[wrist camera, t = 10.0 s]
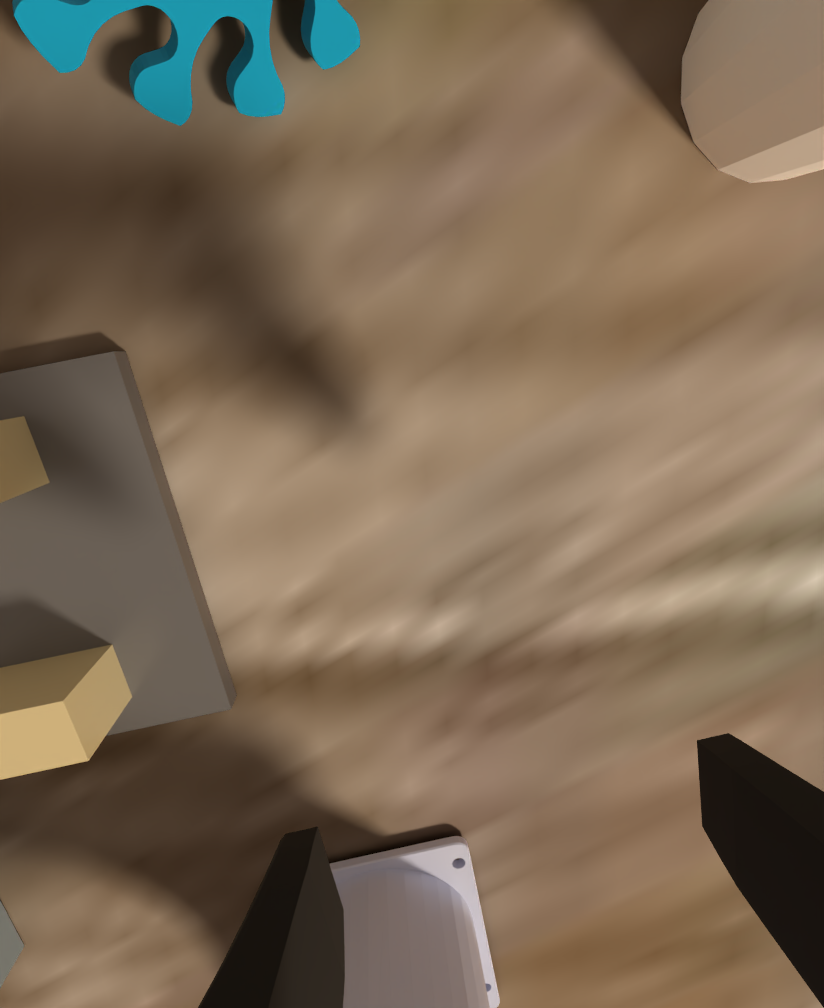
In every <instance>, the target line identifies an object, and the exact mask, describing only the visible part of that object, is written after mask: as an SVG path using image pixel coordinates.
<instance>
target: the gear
mask: <svg viewBox="0 0 824 1008" xmlns="http://www.w3.org/2000/svg"><path fill="white" fill-rule="evenodd" d="M272 3H273V0H13V2H12V4H13V12H14V17H15V18H16V20H17V22H18V24H19V26H20V28H21V30H22V31H23V32H24V34H25V35H26V37H27V38H28V39H29V41H30V42H31V43H32V45H33V46H34V47H35V48H36V49H37V50H38V51H39V52H40V54H41V55H42V56H43V57H44V58H45V59H46V60H47V61H48V62H49V63H50V64H51V65H52V66H53V67H54V68H55V69H56V70H57V71H58V72H59V73H67V72H71V71H74V70H76V69H77V68H78V67H80V66H81V64H82V63H83V61H84V60H85V57H86V53H87V49H88V46H89V44H90V42H91V40H92V38H93V36H94V34H95V33H96V32H97V30H98V29H99V28H100V27H101V26H102V24H103V23H105V22H106V21H107V20H109V19H110V18H111V17H113V16H115V15H117V14H119V13H122V12H124V11H126V10H130V9H133V8H136V7H140V6H144V5H150V6H155V7H157V8H159V9H161V10H162V11H163V12H165V13H166V14H167V15H168V16H169V17H170V20H171V25H172V32H171V36H170V39H169V41H168V43H167V44H166V45H165V46H163V47H161V48H159V49H156V50H153V51H150V52H147V53H144V54H142V55H140V56H138V57H137V58H136V59H135V60H134V62H133V63H132V65H131V68H130V71H129V81H130V86H131V89H132V92H133V95H134V98H135V100H136V101H138V102H139V103H140V104H141V105H142V106H143V107H144V108H145V109H147V110H148V111H150V112H151V113H153V114H155V115H157V116H159V117H161V118H162V119H164V120H167V121H169V122H172V123H174V124H177V125H179V126H181V125H182V124H184V123H185V122H186V121H187V119H188V118H189V117H190V114H191V111H192V95H191V71H192V65H193V61H194V58H195V55H196V52H197V49H198V48H199V46H200V44H201V42H202V40H203V39H204V37H205V36H206V34H207V33H208V31H209V30H210V28H211V27H212V26H213V24H214V23H215V22H216V21H217V20H218V19H220V18H222V17H226V16H231V17H235V18H237V19H239V20H240V21H242V22H243V25H244V28H245V41H244V45H243V47H242V49H241V51H240V52H239V53H238V55H237V56H236V57H235V59H234V60H233V62H232V63H231V65H230V67H229V69H228V72H227V78H226V83H227V89H228V92H229V95H230V97H231V99H232V101H233V102H234V104H235V106H236V108H237V110H238V111H239V113H241V114H244V115H247V116H255V117H264V116H273V115H279V114H281V113H282V111H283V108H284V103H285V93H284V89H283V86H282V84H281V82H280V80H279V78H278V76H277V73H276V70H275V67H274V64H273V61H272V56H271V51H270V41H269V27H270V16H271V9H272ZM301 36H302V40H303V43H304V46H305V48H306V49H307V51H308V52H309V54H310V55H311V56H312V57H313V59H314V60H315V61H316V62H317V64H318V65H319V66H320V67H321V68H322V69H323V70H324V69H328V68H332V67H334V66H336V65H338V64H339V63H341V62H342V61H344V60H345V59H346V58H348V57H349V56H350V55H351V54H352V53H353V52H354V51H355V50H356V49H358V48H359V47H360V34H359V29H358V27H357V24H356V22H355V21H354V19H353V18H352V16H351V15H350V14H349V13H348V12H347V11H346V10H345V9H344V8H343V7H342V6H341V5H340V4H339V3H338V1H337V0H305V4H304V10H303V15H302V21H301Z"/></svg>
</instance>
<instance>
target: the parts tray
mask: <svg viewBox="0 0 824 1008" xmlns="http://www.w3.org/2000/svg"><path fill="white" fill-rule="evenodd" d="M23 948H24V944H23V942H22V941H21V939H20V937H19V935H18V933H17V931H16V929H15V927H14V925H13V923H12V922H11V920H10V918H9V916H8V914H7V912H6V910H5V908H4V906H3V905H2V903H1V901H0V988H1V986H2V984H3V982H4V981H5V979H6V977H7V975H8V974H9V972H10V970H11V968H12V967H13V965H14V963H15V962H16V960H17V958H18V956H19V955H20V953H21V951H22V949H23Z"/></svg>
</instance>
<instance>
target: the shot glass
mask: <svg viewBox="0 0 824 1008" xmlns="http://www.w3.org/2000/svg"><path fill="white" fill-rule="evenodd" d="M681 105H682V108H683V112H684V115H685V118H686V121H687V124H688V127H689V130H690V133H691V136H692V139H693V142H694V143H695V145H696V146H697V147H698V148H699V149H700V150H701V151H702V153H703V154H704V155H705V156H706V157H707V158H708V159H709V161H710V162H711V163H712V164H713V165H714V166H715V167H716V169H717V170H719V171H721V172H724V173H726V174H729V175H731V176H734V177H736V178H739V179H741V180H744V181H746V182H749V183H755V182H766V181H777V180H786V179H790V178H793V177H797V176H801V175H804V174H808V173H811V172H815V171H819V170H822V169H824V0H708V2H707V3H706V4H705V5H704V7H703V8H702V9H701V11H700V12H699V13H698V16H697V18H696V21H695V24H694V27H693V29H692V32H691V35H690V38H689V40H688V43H687V46H686V49H685V51H684V54H683V57H682V80H681Z"/></svg>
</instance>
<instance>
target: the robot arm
mask: <svg viewBox="0 0 824 1008" xmlns="http://www.w3.org/2000/svg"><path fill="white" fill-rule="evenodd" d="M697 748H698V764H699V780H700V796H701V812H702V826H703V828H704V830H705V832H706V834H707V835H708V837H709V839H710V841H711V842H712V844H713V846H714V848H715V850H716V851H717V853H718V855H719V857H720V858H721V860H722V862H723V864H724V865H725V867H726V869H727V870H728V872H729V874H730V875H731V877H732V879H733V880H734V882H735V884H736V886H737V887H738V888H739V890H740V891H741V893H742V894H743V896H744V897H745V898H746V900H747V901H748V903H749V904H750V906H751V907H752V908H753V910H754V911H755V913H756V914H757V915H758V917H759V918H760V920H761V921H762V922H763V924H764V925H765V927H766V928H767V929H768V931H769V932H770V934H771V935H772V936H773V938H774V939H775V941H776V942H777V943H778V945H779V946H780V948H781V949H782V950H783V952H784V953H785V955H786V956H787V957H788V959H789V960H790V961H791V963H792V964H793V966H794V967H795V968H796V970H797V971H798V973H799V974H800V975H801V977H802V978H803V979H804V981H805V982H806V984H807V985H808V986H809V988H810V989H811V991H812V992H813V993H814V995H815V996H816V998H817V999H818V1000H819V1002H820V1003H821V1005H822V1006H823V1007H824V792H823V791H821V790H820V789H818V788H816V787H815V786H813V785H812V784H810V783H808V782H807V781H805V780H803V779H802V778H800V777H799V776H797V775H795V774H794V773H792V772H790V771H789V770H787V769H786V768H784V767H782V766H781V765H779V764H778V763H776V762H774V761H773V760H771V759H770V758H768V757H766V756H765V755H763V754H762V753H760V752H758V751H757V750H755V749H754V748H752V747H750V746H749V745H747V744H746V743H744V742H742V741H741V740H739V739H737V738H736V737H734V736H732V735H731V734H729V733H728V734H723V735H719V736H714V737H710V738H706V739H701V740H697ZM457 858H461V859H459V860H455V859H457ZM499 1003H500V999H499V994H498V989H497V985H496V980H495V975H494V970H493V965H492V960H491V955H490V950H489V945H488V940H487V936H486V931H485V926H484V921H483V916H482V911H481V906H480V901H479V896H478V891H477V887H476V882H475V877H474V872H473V867H472V862H471V857H470V852H469V847H468V843H467V841H466V839H464V838H463V837H460V836H452V837H447V838H443V839H438V840H434V841H429V842H424V843H420V844H415V845H411V846H406V847H402V848H397V849H393V850H388V851H384V852H379V853H375V854H370V855H366V856H361V857H357V858H352V859H348V860H343V861H339V862H334V863H330V864H329V861H328V858H327V855H326V852H325V848H324V845H323V842H322V839H321V836H320V833H319V829H318V827H314V828H310V829H306V830H301V831H297V832H292V833H288V834H285V835H284V837H283V838H282V839H281V841H280V843H279V846H278V848H277V850H276V852H275V855H274V857H273V859H272V861H271V863H270V866H269V868H268V870H267V872H266V875H265V877H264V879H263V881H262V883H261V885H260V888H259V890H258V892H257V894H256V896H255V898H254V900H253V902H252V904H251V907H250V909H249V911H248V913H247V915H246V917H245V919H244V921H243V923H242V925H241V927H240V929H239V931H238V933H237V935H236V937H235V939H234V941H233V943H232V945H231V947H230V949H229V951H228V953H227V955H226V957H225V959H224V961H223V963H222V965H221V967H220V968H219V970H218V972H217V974H216V976H215V978H214V980H213V982H212V983H211V985H210V987H209V989H208V991H207V992H206V994H205V996H204V998H203V1000H202V1001H201V1003H200V1005H199V1007H198V1008H497V1007H498V1005H499Z"/></svg>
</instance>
